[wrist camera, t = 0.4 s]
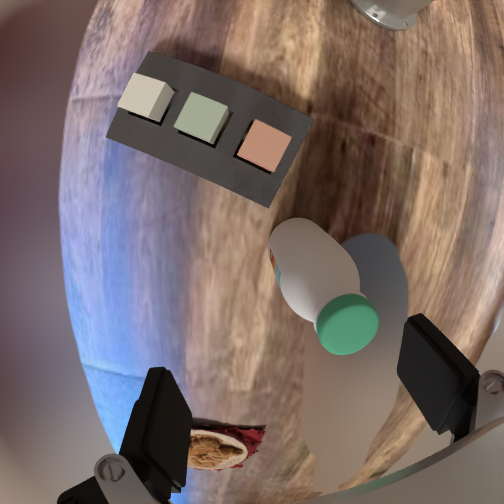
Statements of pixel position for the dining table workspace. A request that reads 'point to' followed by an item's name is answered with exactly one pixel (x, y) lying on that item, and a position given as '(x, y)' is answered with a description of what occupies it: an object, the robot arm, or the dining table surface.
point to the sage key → (202, 117)
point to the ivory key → (146, 97)
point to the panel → (221, 158)
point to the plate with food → (221, 447)
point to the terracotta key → (264, 145)
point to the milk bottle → (322, 285)
